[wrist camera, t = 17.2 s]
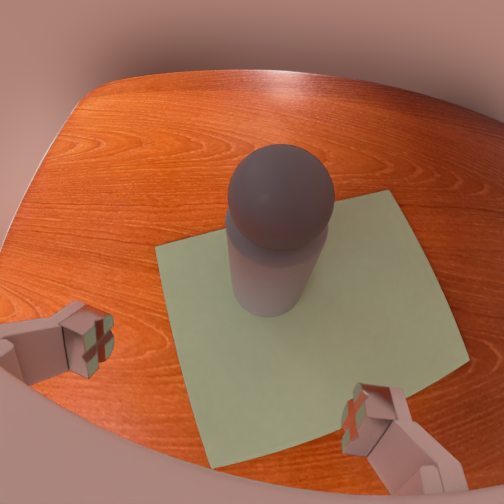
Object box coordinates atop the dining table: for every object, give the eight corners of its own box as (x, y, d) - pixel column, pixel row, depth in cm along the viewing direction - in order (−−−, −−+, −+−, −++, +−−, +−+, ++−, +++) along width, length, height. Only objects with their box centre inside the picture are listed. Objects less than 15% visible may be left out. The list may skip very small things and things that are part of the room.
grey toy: (243, 326, 21) (240, 232, 10) (224, 262, 23) (207, 131, 12) (312, 305, 21) (374, 200, 10) (288, 244, 23) (318, 112, 13)
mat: (212, 467, 17) (211, 469, 16) (156, 249, 23) (154, 246, 23) (466, 361, 20) (470, 360, 19) (387, 192, 26) (389, 189, 26)
